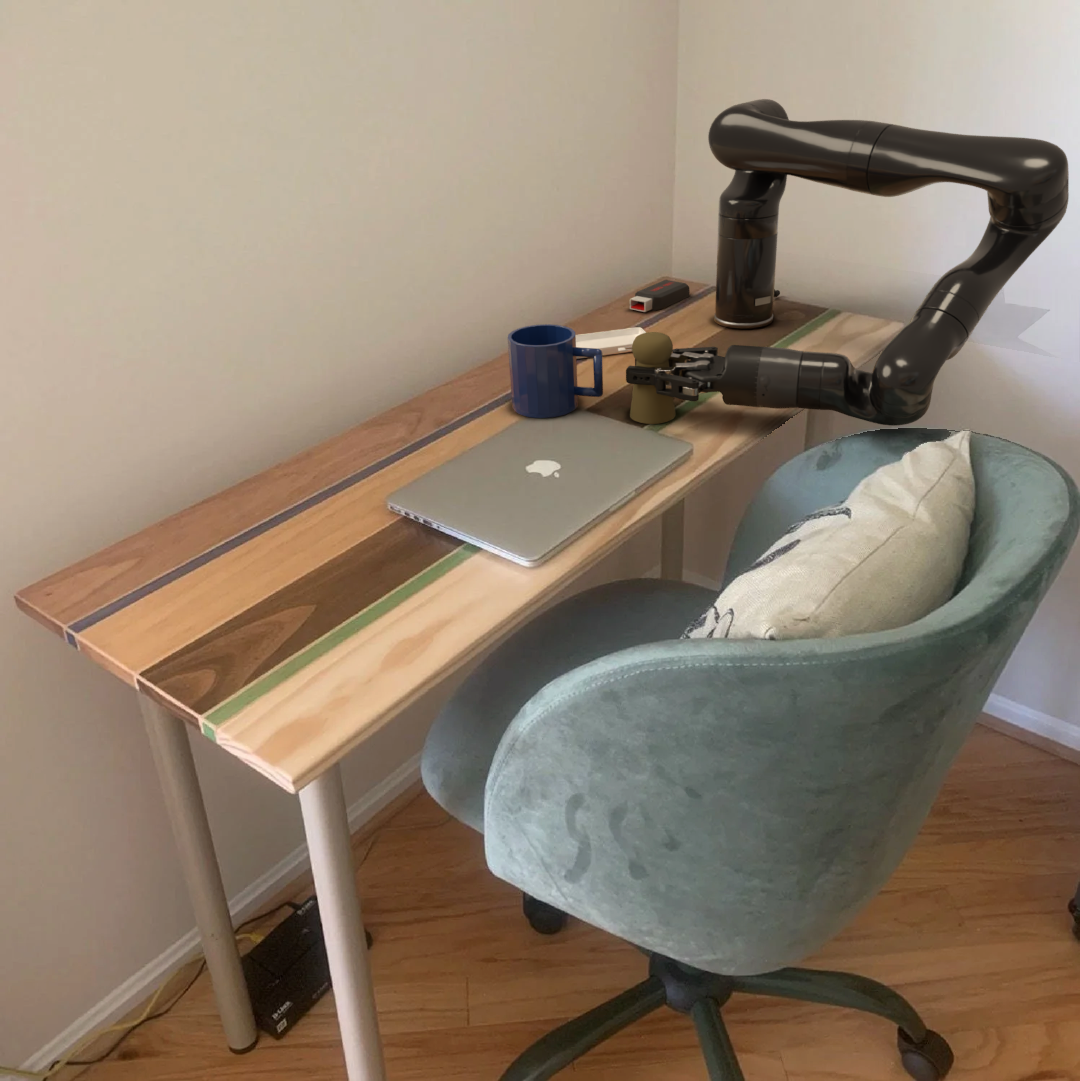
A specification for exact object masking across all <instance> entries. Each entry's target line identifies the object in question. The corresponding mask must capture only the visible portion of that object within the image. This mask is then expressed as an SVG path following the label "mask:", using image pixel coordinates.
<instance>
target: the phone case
mask: <svg viewBox="0 0 1080 1081" xmlns="http://www.w3.org/2000/svg"><path fill="white" fill-rule="evenodd" d="M643 333H647V331H646V330H644V328H642V327H640V326H638V327H637V326H636V327H635V326H634V327H628V328H619V329H612V330H604V331H595V332H589V333H580V334H576V347H581V348H595V349H600V350H601V351H602V356H609V355H617V354H624V353H633V352H632V344H633V341H634V340H635V338H636V337H637V336H638V335H640V334H643ZM586 358H588V357H577V356H576V359H577V360H579V359H586Z"/></svg>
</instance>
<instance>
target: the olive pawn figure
mask: <svg viewBox="0 0 1080 1081" xmlns="http://www.w3.org/2000/svg"><path fill="white" fill-rule="evenodd" d="M631 349H632V352H631V353H632V356H633V358H634V360H635V359H636V360H637V361H636V366H643V367H655V368H658V367H669V361H668V359H669V358H670V357H671V355H672V351H673V349H674V345H673V341H672V339H671V337H670V336H669V335H668V334H666V333H663V332H659V331H648V332H647V331H646V333H643V334H640V335H638V336H637V337H636V338H635V340H634V341H633V344H632V348H631ZM666 382H669V381H666ZM632 385H633V386H632V394H631V403H630V410H629V417H630V419H631V420H633V421H634V422H637V423H640V424H647V425H654V424H655V425H656V424H663V423H667V422H670V421H672V420H673V419H674V418H675V417H676V414H677V413H676V408H675V399H674V397H670V396H665V395H661V394H657V393H656V388H655V385H640V384H632ZM668 389H671V388H668Z"/></svg>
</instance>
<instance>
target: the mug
mask: <svg viewBox="0 0 1080 1081" xmlns="http://www.w3.org/2000/svg"><path fill="white" fill-rule="evenodd" d="M576 335H577V333H576V331H575V330H574V329H573V328H571V327H568V326H566V325H561V324H553V323H552V324H551V323H548V324H547V323H545V324H544V323H543V324H542V323H541V324H532V325H525V326H522V327H519V328H517V329H514V330H512V331H511V332H510V333H508V335H507V350H508V364H509V379H510V380H509V381H510V393H511V405H512V410H513V411H514V412H515V413H516V414H518V415H520V416H523V417H526V418H533V419H549V418H550V419H551V418H557V417H561V416H565V415H568V414H570V413H572V412H574V411H575V410H576V409H577V408H578V405H579V396H580V397H592V398H593V397H594V398H601V397H602V396H603V395H604V375H603V373H604V370H603V368H604V367H603V355H602V351H601V350H600V349H595V348H581V347H576ZM576 356H577V357H587V358H590V359H591V358H592V362H593V364H592V367H593V369H592V370H593V386H592V387H590V386H579V385H578V364H577V363H578V362H577V360H578V359H576Z"/></svg>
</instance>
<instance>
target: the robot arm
mask: <svg viewBox="0 0 1080 1081" xmlns="http://www.w3.org/2000/svg"><path fill="white" fill-rule="evenodd" d="M707 140H708V141H707V142H708V146H709V150H710V151H711V153H712V155H713V156H714V158H715V159H716V161H718V162H719V163H720V164H721V165H723V166H724V167H726V168H728V169H730V170H733V171H734V174H733V177H732V179H731V181H730V183H729V184H728V185H727V186H726V188H725V189H724V190H723V191H722V192H721V194H720V195H719V199H718V216H717V245H716V246H717V249H716V278H715V304H714V305H715V306H714V307H715V308H714V318H713V320H714V322H715V323H716V324H717V325H720V326H722V327H725V328H731V329H739V330H741V329H743V330H745V329H758V328H763V327H766V326H769V325H770V324H772V323H773V321H774V299H775V298H778V297H779V296H780V295H781V290H779V289H775V282H776V268H777V250H778V234H779V215H780V204H781V201H782V198H783V196H784V194H785V191H786V187H787V181H788V180H787V179H788V176H791V177H795V178H800V179H803V180H806V181H811V182H814V183H819V184H822V185H826V186H827V185H828V186H832V187H836V188H840V189H844V190H848V191H852V192H857V193H861V194H866V195H871V196H876V197H881V198H882V197H884V198H893V197H899V196H903V195H907V194H909V193H912V192H914V191H918V190H920V189H923V188H925V187H928V186H931V185H934V184H940V183H952V184H958V185H959V184H960V185H966V186H971V187H974V188H978V189H981V190H983V191H986V195H987V205H988V206H987V208H988V213H989V220H988V223H987V225H986V229H985V230H984V233H983V235H982V237H981V239H980V241H979V243H978V245H977V247H976V248H975V250H973V252H972V253H971V254H970V255H969V256H968V257H967V258H966V259H965V260H964V261H962V262H960V263H958V264H957V265H955V266H953V267H952V268H950V269H949V270H948V271H946V272H945V273H944V274H943V275H942V276H940V278H939V279H938V280H937V281H936V282H935V283H934V284H933V286H932V287H931V289H929V291H928V292H927V294H926V296H925V297H924V298H923V300H922V302H921V303H920V305H918V308H917V309H916V311H915V312H914V313H913V315H912V317H911V319H910V321H909V323H908V324H906V325H904V327H903V328H902V329H901V330H900V331H899V332H898V333H897V334H896V335H895V336H894V337H893V338H892V339H891V340H890V341H889V342H888V344H886V346H885V347H884V348H883V350H882V352H881V353H880V355H879V356H878V358H877V360H876V362H875V363H874V366H873V369H872V372H871V371H867V370H863V369H858V368H856V367H855V366H853V363H852V362H851V360H850V358H849V357H848V356H847V355H845V354H842V353H837V352H824V351H822V352H821V351H806V350H805V351H804V350H797V349H794V348H793V349H792V348H787V347H775V346H774V347H773V346H758V345H757V346H756V345H744V344H743V345H741V344H740V345H739V344H732V345H730V346H729V347H727V350H726V352H725V355H724V356H722V355H719V353H718V351H719V349H718V347H717V346H704V347H703V346H702V347H682V348H679V347H677V348H676V347H675V348H673V351H672V355H671V357H670V358H669V359H668V361H669V367H658V368H655V367H643V366H636V361H637V360H636V359H635V358H634V365H629V366H627V367H626V369H625V381H626V383H627V384H629V385H634V384H640V385H655V388H656V393H657V394H661V395H665V396H670V397H673V398H675V399H678V400H684V401H688V402H698V401H699V397H700V396H699V395H700V394H707V393H717V392H718V393H720V394H721V396H722V397H721V398H722V402H723V404H725V405H727V406H738V407H739V406H740V407H751V408H752V407H753V408H765V409H776V410H777V409H779V410H780V409H781V410H782V409H802V410H803V409H806V410H818V411H834V412H835V413H840V414H842V415H846V416H848V417H851V418H854V419H858V420H861V421H865V422H869V423H873V424H877V425H883V426H893V427H894V426H904V425H909V424H913V423H915V422H917V421H918V420H920V419H921V418H923V416H925V415H926V413H927V412H928V410H929V408H930V405H931V400H932V396H933V395H932V394H933V389H934V383H935V380H936V378H937V377H938V374H939V372H940V370H941V368H942V367H943V366H944V364H945V363H946V361H949V360H951V359H953V358H954V357H955V356H956V355H958V354H959V352H960V351H961V350H962V349H963V348H964V346H965V345H966V343H967V342H968V339H969V338H970V337H971V335H972V333H974V330H975V329H976V327H977V326H978V325H979V323H980V321H981V319H982V318H983V316H984V315H985V313H986V311H987V310H988V308H989V307H990V306H991V304H992V303H993V302H994V300H995V299H996V297H997V296H998V294H999V293H1000V292H1001V290H1002V289H1003V288H1004V286H1006V284H1007V283H1008V281H1009V280H1011V278H1012V277H1013V276H1014V274H1016V272H1017V271H1018V270H1019V269H1020V268H1021V267H1022V265H1023V264H1024V263H1025V262H1026V261H1027V259H1028V258H1029V257H1030V256H1031V255H1032V254H1033V253H1034V252H1035V251H1036V250H1037V249H1038V248H1039V247H1040V246H1041V245H1042V243H1043V242H1044V241H1045V240H1046V239H1047V238H1048V237H1049V236H1050V235H1051V234H1052V233H1053V232H1054V230H1055V229H1056V228H1057V226H1058V225H1059V224H1060V222H1062V220H1063V219H1064V217H1065V215H1066V213H1067V209H1068V205H1069V198H1070V197H1069V196H1070V194H1069V188H1070V187H1069V184H1070V183H1069V178H1070V177H1069V172H1070V171H1069V161H1068V157H1067V154H1066V153H1065V151H1064V150H1063V149H1062V148H1061V147H1060V146H1058V145H1057V144H1055V143H1052V142H1050V141H1047V140H1043V139H1039V138H1038V139H1037V138H1032V137H1031V138H1029V137H1018V136H998V135H997V136H995V135H976V134H975V135H973V134H961V133H954V132H953V133H952V132H945V131H935V130H929V129H928V130H927V129H920V128H915V127H908V126H904V125H899V124H893V123H887V122H880V121H875V120H865V119H828V120H812V121H810V120H809V121H807V120H804V121H802V120H801V121H800V120H790V119H789V116H788V113H787V112H786V109H785V108H784V107H783V106H782V105H781V104H780V103H779V102H777V101H775V100H773V99H769V98H762V99H761V98H760V99H754V100H751V101H745V102H742V103H738V104H737V103H736V104H733V105H731V106H729V107H727V108H726V109H724V110H722V111H721V112H720V113H719V114H718V115H716V117H715V118H714V120H713V121H712V123H711V124H710V127H709V130H708V134H707ZM666 381H669V382H666ZM668 388H671V389H668Z"/></svg>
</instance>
